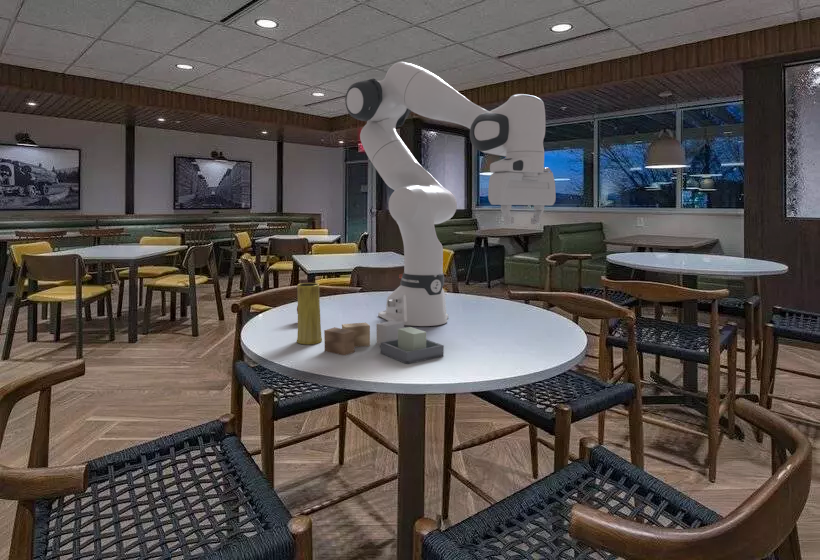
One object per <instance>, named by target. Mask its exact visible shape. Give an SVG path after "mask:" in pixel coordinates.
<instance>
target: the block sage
mask: <svg viewBox="0 0 820 560" xmlns="http://www.w3.org/2000/svg"><path fill="white" fill-rule="evenodd" d="M426 340H427V331H424V330H421V329H419V328H415V327H411V326H408V327H404V328H401V329H398V348H400V349H402V350H405V351H407V352H408V351H413V350H418V349H423V348H426Z"/></svg>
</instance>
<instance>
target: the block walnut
mask: <svg viewBox="0 0 820 560" xmlns="http://www.w3.org/2000/svg"><path fill="white" fill-rule="evenodd" d="M323 332H324V335H323V336H324V338H323V339H324V352H326V351H327V353H332V354H336V355H341V356H347V355H350V354H354V353H355V347H354V331H352V330H346V329H342V328H339V327H332V328H327V329H325V330H324V331H323Z"/></svg>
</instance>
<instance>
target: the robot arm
mask: <svg viewBox="0 0 820 560" xmlns="http://www.w3.org/2000/svg"><path fill="white" fill-rule="evenodd" d="M344 101H345V107H346V110H347V113H348V114H349V116H350V117H352V118H353V119H356V120H358V121H362V122H366V124H365V125H364V126H363V127H362V128H361V130H360V133H359V138H360V139H359V140H360V143H361V145H362V147H363V149H364V151H365V154H366V156H367V157H368V159H369V161H370V162H371V164H372V166H373V167H374V168H375V170H376V172H377V173H378V175H379V176H380V178H382V180H383V181H384V183H385V184H386V185H387V187H389V188H390V189H392V190H394V191H393V192H392V193H391V195H390V196H389V198H388V211H389V213H390V216H391V217H392V219H393V220H394V221H395V222H396V224H397V225H398V229H399V232H400V234H401V238H402V243H403V254H404V255H403V258H404V260H403V261H404V263H403V264H404V266H403V267H404V268H403V269H404V271H403V273H401V274H399V279H400V283H399V286H398V287H397V288H395V290H393V291H392V293H390V294H389V295H388V296H387V298H386V306H385V308H386V309H385V310H381V311H379V312H378V313H377V314H378V317H380V318H382V319H384V320H386V321H392V320H396V321H401V322H404V326H410V327H411V326H413V327H414V326H415V327H430V326H431V327H432V326H440V325H444V324H447V322H448V319H449V314H448V313H447V305H446V304H447V302H446V293H445V290H444V288H443V287H444V286H445V274H444V273H443V269H444V268H443V267H444V265H443V263H444V246H443V245H442V243H441V242H440V239H438V236H437V232H436V229H435V225H440V224H442V223H445V222H447V221H449V220H451V218H453V216H454V215H455V213H456V212H457V207H458V206H457V205H458V204H457V203H458V202H457V199H456V196H455V195H454V194H453V193H452V192H451V191H450V190H449V189H447V188H445V187H444V186H443V185H442V184H441V183H440V182H439V181H438V180H437V179H436V178H435V177H433V175H432V174H431V173H430V172H429V171H428V170H427V169H425V167H423V166H422V165H421V164H420V163H419V162H418V160H417V159H416V158H415V156H414V154H413V153H412V152H411V150H410V149H409V148H408V146H407V144H405V142H404V141H403V140H402V138H401V137H400V134H398V132H397V129H396V128H400V127H402V126H403V125H404V124H405V121H406V120H407V119H408V118H409V116H410V115H411V113H414V114H417V115H419V116H421V117H423V118H424V117H425V118H428V119H431V120H437V121H440V122H441V121H442V122H448V123H453V124H457V125H461V126H463V127H465V128H467V129H469V139H470V140H469V141H470V143H471V145H472V146H473V147H474V148H475V149H476V150H478V151H480V152H482V153H485V154H490V155H496V156H501V157H503V158H502V159H499V160H497V161H496V160H495V161H494V162H491V163H490V164H489V172H491V174H490V175H489V180H488V188H487V189H488V191H487V196H488V197H487V198H488V202H489V203H490V205H492V206H493V205H494V206H495V205H496V206H500V211H501V214H502V217H503V223H504V225H506V226H514V224H515V222H514V221H515V217H514V216H513V217H512V213H511V211H512V207H513V206H533V210H534V212H533V216H531V217H530V224H531V225H540V224H541V218H542V215H543V214H544V211H545V206H554V204H555V203H556V198H557V197H556V196H557V195H556V181H555V177H554V172H553V171H552V170H551V168H550V167H545V149H544V139H545V136H546V109H545V104H544V101H543V100H542V99H541V98H540V97H537V96H535V95H530V94H526V93H525V94H524V93H516V94H513V95H511V96H510V97H509V98H508V100H507V101H506V102H504V103H503V104H501V105H499V106H498V107H496V108H494V109H491V110H488V109H485V108H483V107H482V106H480V105H478V104H476V103H475V102H472V101H471V100H470V99H468V98H467V97H466V96H464V95H463V94H461V93H460V92H459V91H458V90H456V89H455V88H454V87H453V86H451V85H450V84H449V83H447V82H446V81H445V80H443V79H442V78H441V77H439V76H438V75H437V74H435V73H433V72H432V71H429V70H428V69H426V68H424V67H421V66H418V65H416V64H415V63H414V64H413V63H411V62H406V61H398V62H395V63H394V64H392V65H391V66H390V67H389V68H388V69H387V72H386V74H385V76H384V78H383V79H381V80H377V79H376V78H369V79H365V80H360V81H356V82H355V83H353V84H351V85H350V86H349V87H348V89H347V91H346V93H345V100H344Z"/></svg>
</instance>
